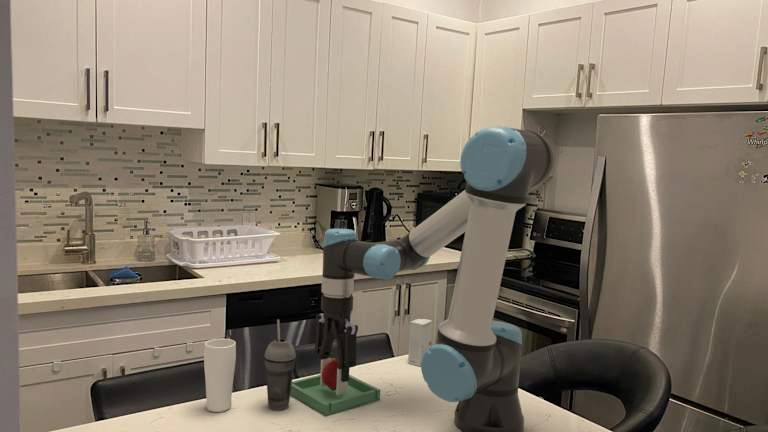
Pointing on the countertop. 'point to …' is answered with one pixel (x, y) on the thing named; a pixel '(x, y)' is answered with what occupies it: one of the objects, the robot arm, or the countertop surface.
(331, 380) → the onion
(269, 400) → the beverage cup
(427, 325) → the skincare box
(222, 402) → the drinking glass
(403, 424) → the countertop surface
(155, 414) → the countertop surface
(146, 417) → the countertop surface
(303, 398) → the green square tray
